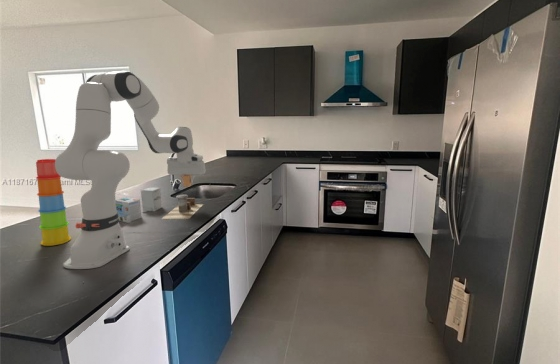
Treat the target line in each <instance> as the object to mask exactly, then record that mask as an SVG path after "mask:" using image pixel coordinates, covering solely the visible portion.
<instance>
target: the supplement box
mask: <svg viewBox="0 0 560 364" xmlns="http://www.w3.org/2000/svg"><path fill="white" fill-rule="evenodd" d="M140 195H141V203H142V213H144V214H145V213H147V212H156V211H157V210H159V209H161V208H163V204H162V192H161V188H160V187H147V188H144V189H141V190H140Z"/></svg>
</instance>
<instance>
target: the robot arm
mask: <svg viewBox="0 0 560 364" xmlns="http://www.w3.org/2000/svg"><path fill="white" fill-rule="evenodd" d="M122 101H126V102H127V104H128V106H129V107H130V108H131V110H132V111H133V113H134V119H135V122H136V123H137V125H138V127H139V128H140V130H141V132H142V134H143V135H144V137H145V138H146V141H147V143H148V146H149V149H150V150H151V151H152V152H153V153H154V154H176V157H175V156H174V157H168V158H167V159H166V164H167V174H168V175H169V176H171V175H173V176H174V175H178V177H179V179H180V180H181V183H183V176H184V175H191V176H192V178H191V179H190V183H192V184H193V183H194V178H195V177H196V175H204V174H205V173H206V172H207V171H206V163H205V161H204V160H203V159H204V157H203V155H200V154H198V153H195V152H194V147H193V145H194V141H193V133H192V130H191V128H190V127H188V126H187V127H186V126H176V127H175V130H174V131H173V132H171V133H160V132H158V131H157V129H156V128H155V125H154V124H153V122H152V120H153V119H154V118H155V117H156V116H157V115H158V113H159V111H160V104H159V102H158V100H157V99H156V97H155V95H154V94H153V92H152V91H151V89H150V88H149V87H148V85H146V83H144V81H143V80H142V79H141V78H140V77H138V76H136V75H135V74H134V73H133V72H131V71H128V70H121V71H111V72H110V71H107V72H103V73H98V74H94V75H92V76H90V77H88V78H87V79H86V81H85V82H84V83H82V84H81V85H80V86H79V87H78V91H77V96H76V102H75V124H74V132H73V135H72V136H73V137H72V138H71V141H70V142H69V145H68V146H67V147H66V148H65V150H63V151H62V152H60V153H59V155H57V156H56V161H55V169H56V171H57V173H58V174H59V175H60V176H61V177H60V178H64V179H69V180H72V181H74V180H75V181H91V188H90V189H89V190H88V191H86V192H84V193H83V194H82V196H81V198H80V204H81V211H82V219H81V222H77V223H75V226H74V227H75V228H76V229H81V230H80V232H79V234H78V235H77V237H76V238H75V240H74V242H73V243H72V245H71V246H70V249H69V254H70V255H69V258H68V259H67V260H65V261H64V262H63V263H62V267H63V268H66V269H69V270H87V269H89V270H90V269H94V268H95V269H96V268H99V267H103V266H104V265H106V264H107V263H109V262H111V261H113V260H115V259H116V258H118V257H119V256H121V255H122V254H124V253H127V252H128V251H129V250H130V249H131V248H130V246H129V245H127V241H126V237H125V233H124V229H123V227H121V226H120V223H119V222H120V221H119V216H118V213H117V211H116V201H115V200H116V193H117V192H116V190H117V188H118V185H119V184H120V182H121V180H122V179H124V178H125V177H126V176H127V175H128V174H129V172H130V161H129V157H127V155H125V153H123V152H119V151H114V150H110V149H109V150H99V149H98V148H99V146H100V144H101V143H102V142H103V141H105V140H107V139H108V138H109V137H110V135H111V132H112V129H111V128H112V126H111V125H112V113H111V112H112V108H111V103H112V102H122Z"/></svg>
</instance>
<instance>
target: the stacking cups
mask: <svg viewBox="0 0 560 364" xmlns="http://www.w3.org/2000/svg"><path fill="white" fill-rule="evenodd" d="M55 161H56V159H55V158H45V159H37V160H36V162H35V164H36V165H35V166H36V176H35V179H37V180H36V181H37V189H38V190H37V192H38V193H37V194H36V195H37V196H38V203H39V209H38V213H39V215H40V217H39V218H40V225H39V226H38V227H39V229H40V230H41V239H42V240H41V242H40V245H41V246H45V247H49V246H50V247H51V246H52V247H53V246H57V245H63V244H65V243H68V242H70V241H71V239H72V236H70V234H69V228H68V227H69V226H68V225H69V221H67V215H66V209H67V207H66V206H65V201H64V193H65V192H64V190H63V188H62V181H61V180H62V177H61V176H60V175H59V174H58V173H57V171H56V169H55Z"/></svg>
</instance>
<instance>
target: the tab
mask: <svg viewBox="0 0 560 364" xmlns="http://www.w3.org/2000/svg"><path fill="white" fill-rule="evenodd" d="M182 177H183V187H185V188H189V187H191V186H193V183H190V179H191V178H192V176H191V175H183V176H182Z"/></svg>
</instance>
